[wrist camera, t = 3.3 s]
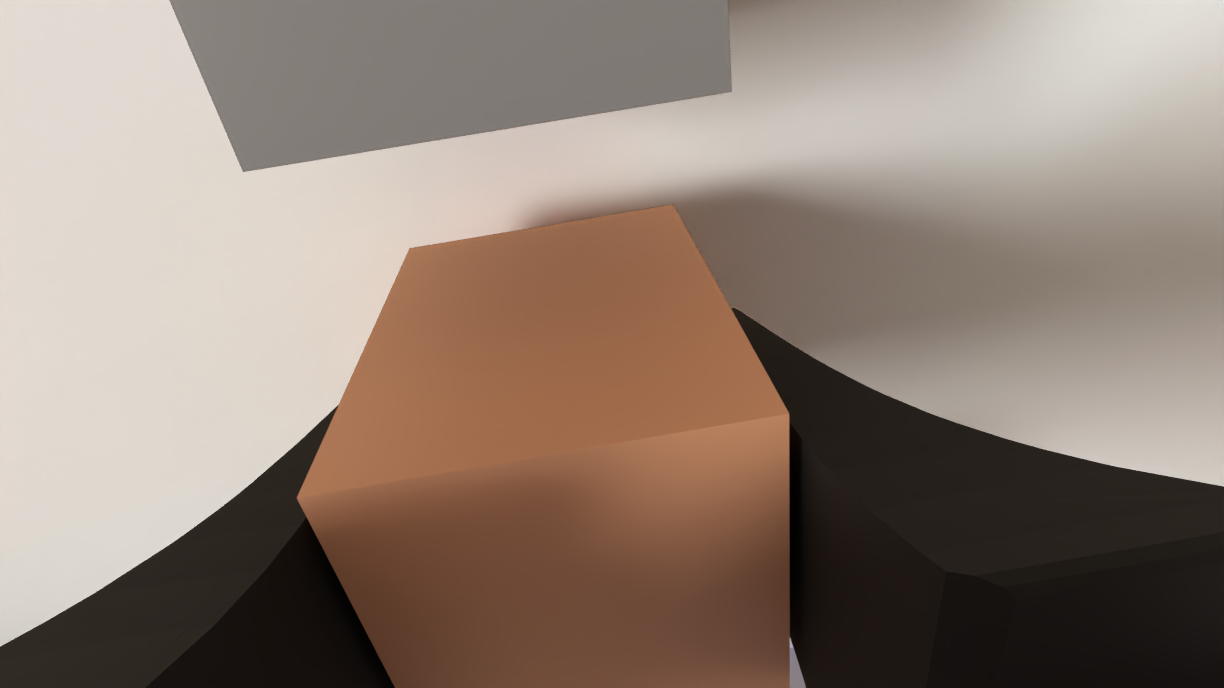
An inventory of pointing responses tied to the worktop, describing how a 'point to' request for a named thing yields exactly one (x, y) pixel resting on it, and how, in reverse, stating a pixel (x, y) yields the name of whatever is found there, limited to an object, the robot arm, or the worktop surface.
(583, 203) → the worktop surface
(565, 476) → the terracotta block
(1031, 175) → the worktop surface
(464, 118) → the charcoal block
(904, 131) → the worktop surface
